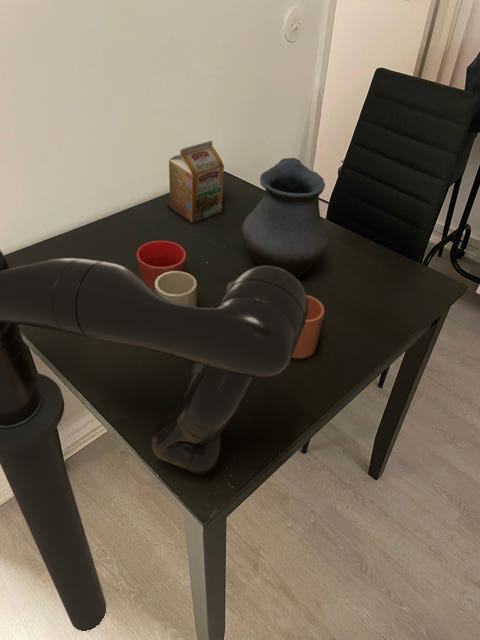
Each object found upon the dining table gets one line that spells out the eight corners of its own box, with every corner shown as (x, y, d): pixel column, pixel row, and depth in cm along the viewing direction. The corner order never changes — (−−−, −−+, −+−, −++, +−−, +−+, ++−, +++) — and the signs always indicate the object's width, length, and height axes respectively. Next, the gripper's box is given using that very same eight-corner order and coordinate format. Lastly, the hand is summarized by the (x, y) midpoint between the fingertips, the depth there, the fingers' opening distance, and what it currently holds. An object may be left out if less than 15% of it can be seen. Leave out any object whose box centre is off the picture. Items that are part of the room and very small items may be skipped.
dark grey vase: (241, 291, 118) (249, 193, 101) (238, 241, 134) (244, 149, 117) (328, 294, 119) (349, 197, 102) (314, 243, 135) (331, 153, 119)
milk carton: (192, 222, 139) (192, 156, 127) (170, 207, 145) (168, 142, 133) (221, 211, 145) (224, 147, 132) (199, 197, 151) (200, 134, 138)
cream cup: (166, 338, 104) (164, 300, 98) (151, 314, 110) (148, 277, 103) (203, 326, 108) (203, 289, 101) (186, 303, 113) (185, 267, 106)
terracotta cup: (290, 363, 101) (297, 326, 94) (268, 337, 106) (273, 301, 100) (324, 350, 104) (332, 314, 98) (301, 326, 110) (307, 289, 103)
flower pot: (179, 271, 122) (178, 236, 116) (191, 298, 114) (191, 263, 108) (135, 278, 119) (132, 243, 113) (145, 306, 111) (142, 271, 105)
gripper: (255, 361, 86) (271, 303, 98) (175, 345, 88) (201, 290, 100) (252, 390, 91) (267, 332, 103) (176, 374, 93) (200, 318, 105)
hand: (235, 311), depth 101 cm, fingers open, 8 cm apart
